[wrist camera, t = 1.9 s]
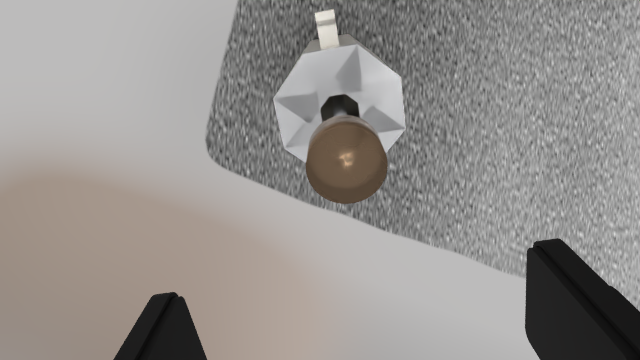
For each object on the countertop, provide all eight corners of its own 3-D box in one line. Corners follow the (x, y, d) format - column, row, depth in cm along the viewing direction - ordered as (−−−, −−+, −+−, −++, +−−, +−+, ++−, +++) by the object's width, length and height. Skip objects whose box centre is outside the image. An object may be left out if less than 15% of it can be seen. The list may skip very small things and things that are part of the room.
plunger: (311, 76, 35) (298, 135, 19) (357, 68, 35) (382, 121, 19) (319, 120, 37) (313, 208, 21) (363, 113, 37) (391, 197, 21)
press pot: (277, 18, 39) (256, 24, 27) (373, 0, 38) (393, -2, 27) (300, 133, 44) (291, 180, 32) (386, 119, 43) (408, 162, 31)
